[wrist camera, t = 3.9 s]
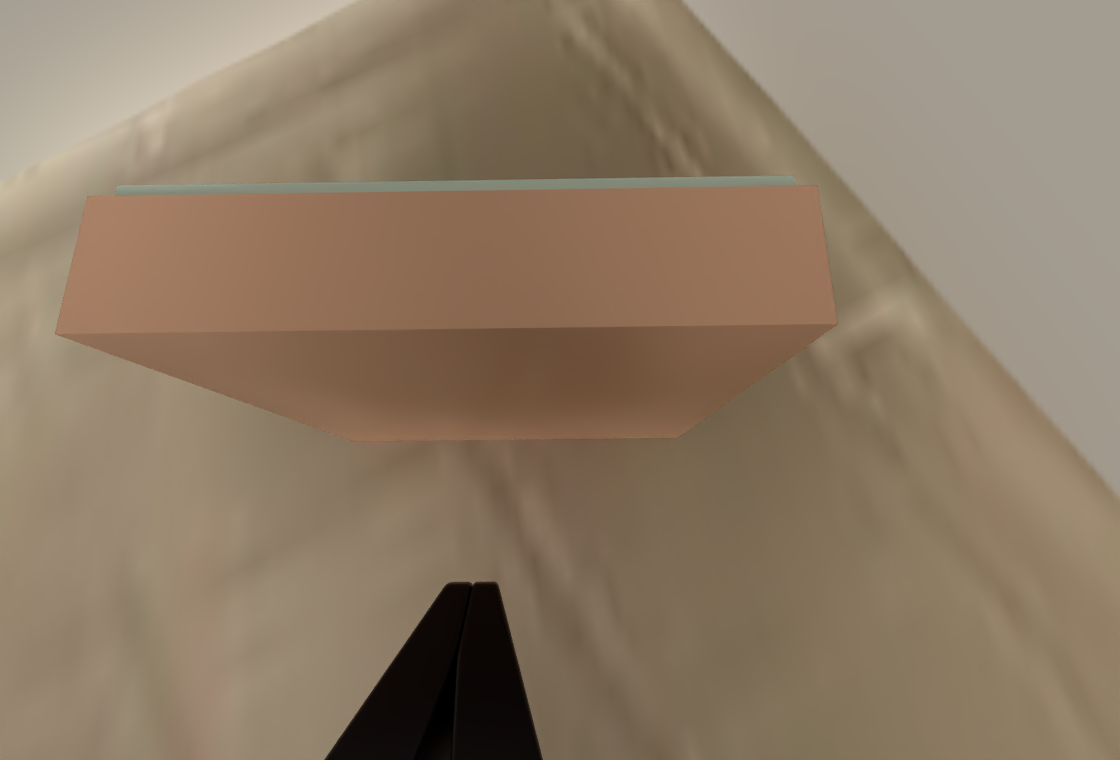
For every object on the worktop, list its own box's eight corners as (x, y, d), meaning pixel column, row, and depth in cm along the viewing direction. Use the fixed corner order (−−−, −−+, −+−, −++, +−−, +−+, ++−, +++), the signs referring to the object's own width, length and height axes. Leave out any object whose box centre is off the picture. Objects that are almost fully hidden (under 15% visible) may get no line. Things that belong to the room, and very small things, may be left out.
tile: (677, 437, 16) (837, 323, 7) (353, 441, 17) (54, 333, 7) (672, 365, 17) (814, 166, 7) (359, 369, 17) (91, 176, 7)
